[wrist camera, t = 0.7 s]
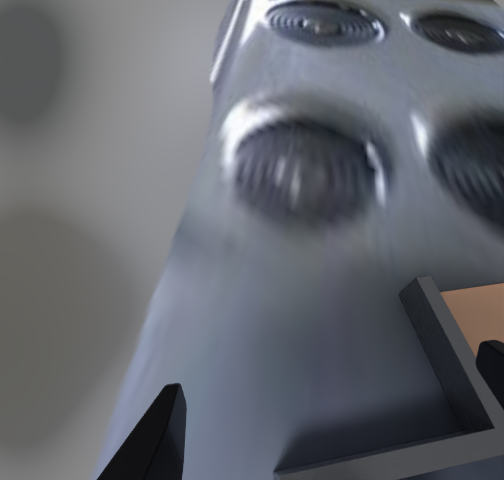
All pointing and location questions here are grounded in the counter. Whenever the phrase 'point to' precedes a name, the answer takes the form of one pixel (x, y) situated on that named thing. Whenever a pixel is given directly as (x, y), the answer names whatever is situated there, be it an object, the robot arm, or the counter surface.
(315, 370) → the counter surface
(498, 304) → the pad
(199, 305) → the counter surface
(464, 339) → the channel
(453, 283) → the counter surface
